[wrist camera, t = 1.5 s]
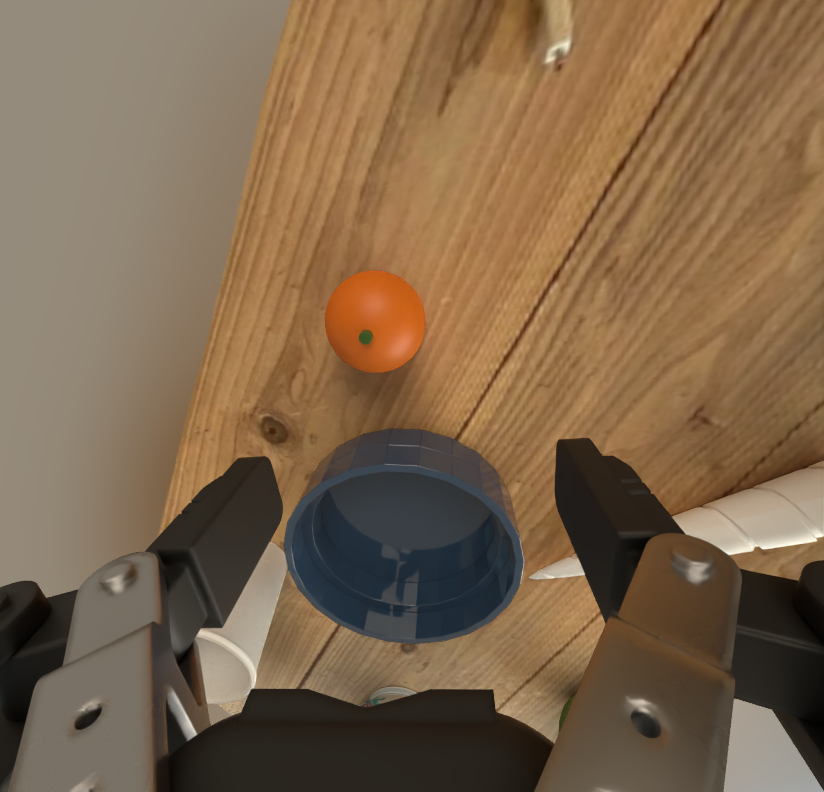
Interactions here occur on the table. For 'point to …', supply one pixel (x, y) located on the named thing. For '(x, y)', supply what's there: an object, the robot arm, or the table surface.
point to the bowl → (405, 538)
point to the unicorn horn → (746, 519)
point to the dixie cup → (242, 633)
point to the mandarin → (375, 321)
